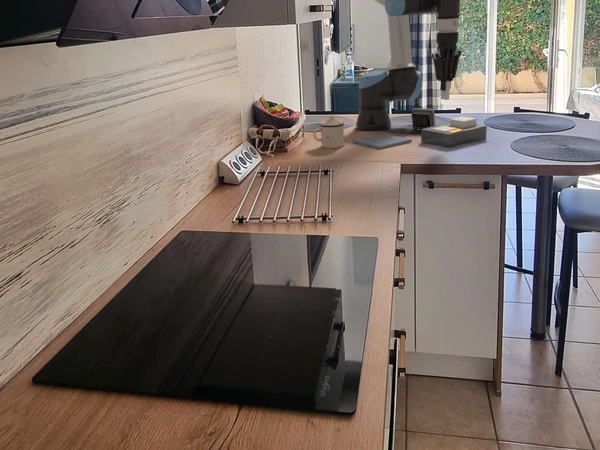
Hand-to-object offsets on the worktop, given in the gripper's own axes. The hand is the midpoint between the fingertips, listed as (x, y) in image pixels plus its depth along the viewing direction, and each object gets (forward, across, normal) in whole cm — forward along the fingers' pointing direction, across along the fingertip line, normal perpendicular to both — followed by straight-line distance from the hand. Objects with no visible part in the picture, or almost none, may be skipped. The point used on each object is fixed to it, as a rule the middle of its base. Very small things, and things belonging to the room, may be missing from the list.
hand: (445, 99), depth 211 cm
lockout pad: (+16, -15, +17) cm, 28 cm away
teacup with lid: (+17, -33, +27) cm, 46 cm away
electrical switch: (+17, +11, +21) cm, 29 cm away
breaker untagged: (+12, +10, -1) cm, 15 cm away
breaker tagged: (+14, 0, -1) cm, 14 cm away
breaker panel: (+16, +5, -1) cm, 17 cm away
